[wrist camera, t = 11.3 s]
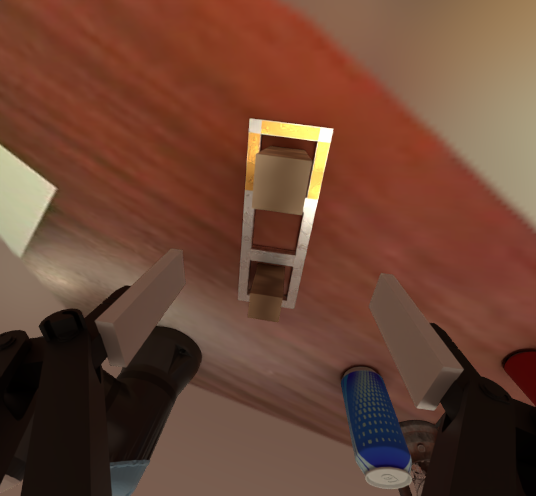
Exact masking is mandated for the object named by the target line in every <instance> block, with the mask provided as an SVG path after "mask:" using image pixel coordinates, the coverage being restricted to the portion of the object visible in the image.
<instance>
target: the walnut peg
mask: <svg viewBox="0 0 536 496" xmlns="http://www.w3.org/2000/svg"><path fill="white" fill-rule="evenodd" d="M284 273H285V267H282V266H275V265H269V264H262V263H258V266H257V269H256V273H255V277H254V280H253V284H252V288H251V291H250V298H249V309H248V318H254V319H261V320H267V321H273V322H279V316H280V311H281V305H282V300H283V288H284Z"/></svg>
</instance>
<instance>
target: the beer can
mask: <svg viewBox="0 0 536 496" xmlns="http://www.w3.org/2000/svg"><path fill="white" fill-rule="evenodd" d="M341 387H342V392H343V397H344V402H345V408H346V413H347V418H348V423H349V429H350V434H351V439H352V445H353V450H354V455H355V460H356V462H357V464H358V466H359V467H360V469H361V470H362V472H363V473H364V474H365V479H366V481H367V482H368V483H369V484H371V485H373V486H375V487H378V488H384V489H397V488H402V487H405V486H407V485H409V484H410V483H411V481H412V477H411V475H410V471H411V464H412V459H411V455H410V453H409V450H408V447H407V444H406V441H405V439H404V436H403V433H402V430H401V428H400V425H399V422H398V419H397V417H396V414H395V411H394V408H393V406H392V403H391V400H390V397H389V395H388V392H387V389H386V386H385V384H384V381H383V379H382V377H381V376H380V375H379V374H377V373H376V372H375V371H374V370H372V369H371V368H368V367H354V368H351V369H349V370H348V371H346V372H345V374H344V377H343V378H342V380H341Z"/></svg>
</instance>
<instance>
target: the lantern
mask: <svg viewBox="0 0 536 496" xmlns="http://www.w3.org/2000/svg"><path fill="white" fill-rule="evenodd" d="M399 425H400V428H401V430H402V433H403V436H404V439H405V441H406V444H407V447H408V450H409V453H410V455H411V459H412V464H411V466H412V465H414V464H415V465H417V466H418V467H419V466H420V467H421V469H422V471H421V473H420V471H419V470H421V469H418V467H417V468H416V469H417V472H415V471H416V470H415V471H413V470H412V468H411V470H412V471H413V475H414V478H412V480H413V479H415V480H413V482H414V485H415V489H416V493H417V496H421V493H422V490H423V486H424V484H422V483H424V482H425V479H424V476H426V475H427V471H428V467H429V463H430V460H431V456H432V452H433V448H434V445H435V441H436V437H437V433H438V428H437V427H435V425H433V424H431V423H429V422H426V421H420V420H410V421H404V422H401V423H399ZM415 465H414V466H415ZM415 467H416V466H415ZM418 472H419V473H418ZM422 472H423V473H422ZM415 473H417V474H420V477H421V478H420V479H419V475H418V476H417V477H416V476H415ZM423 475H424V476H423ZM422 477H423V480H422ZM419 483H420V485H421V488H420V485H418V484H419ZM416 487H417V488H416ZM419 488H420V489H419ZM398 489H399V492H400V495H401V496H412V494H411V491H410V488H409V485H407V486H405V487H402V488H398Z"/></svg>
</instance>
